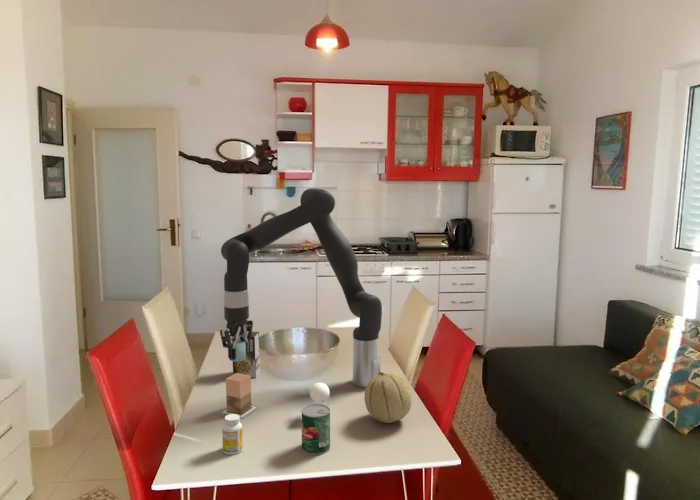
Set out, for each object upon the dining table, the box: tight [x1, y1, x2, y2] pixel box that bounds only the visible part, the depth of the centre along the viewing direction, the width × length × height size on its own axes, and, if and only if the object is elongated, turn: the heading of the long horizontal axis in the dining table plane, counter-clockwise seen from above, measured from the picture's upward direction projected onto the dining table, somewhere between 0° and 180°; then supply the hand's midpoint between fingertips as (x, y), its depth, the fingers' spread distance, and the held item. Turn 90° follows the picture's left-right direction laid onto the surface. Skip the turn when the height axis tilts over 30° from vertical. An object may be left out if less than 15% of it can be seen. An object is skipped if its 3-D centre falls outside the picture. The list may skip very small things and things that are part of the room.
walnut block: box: [225, 391, 252, 415], centre depth 167 cm, size 6×6×6 cm
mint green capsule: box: [230, 341, 246, 362], centre depth 164 cm, size 5×5×5 cm
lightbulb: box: [309, 382, 330, 406], centre depth 163 cm, size 6×6×11 cm
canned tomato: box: [300, 403, 331, 456], centre depth 144 cm, size 8×8×11 cm
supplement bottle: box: [221, 414, 244, 456], centre depth 143 cm, size 5×5×10 cm
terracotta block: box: [225, 373, 252, 398], centre depth 166 cm, size 6×6×6 cm
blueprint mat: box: [216, 404, 261, 420], centre depth 167 cm, size 10×10×1 cm
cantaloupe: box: [364, 371, 413, 424], centre depth 160 cm, size 15×15×15 cm
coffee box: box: [231, 331, 261, 379], centre depth 197 cm, size 9×6×16 cm
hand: (237, 356), depth 165 cm, fingers closed on mint green capsule, 5 cm apart
